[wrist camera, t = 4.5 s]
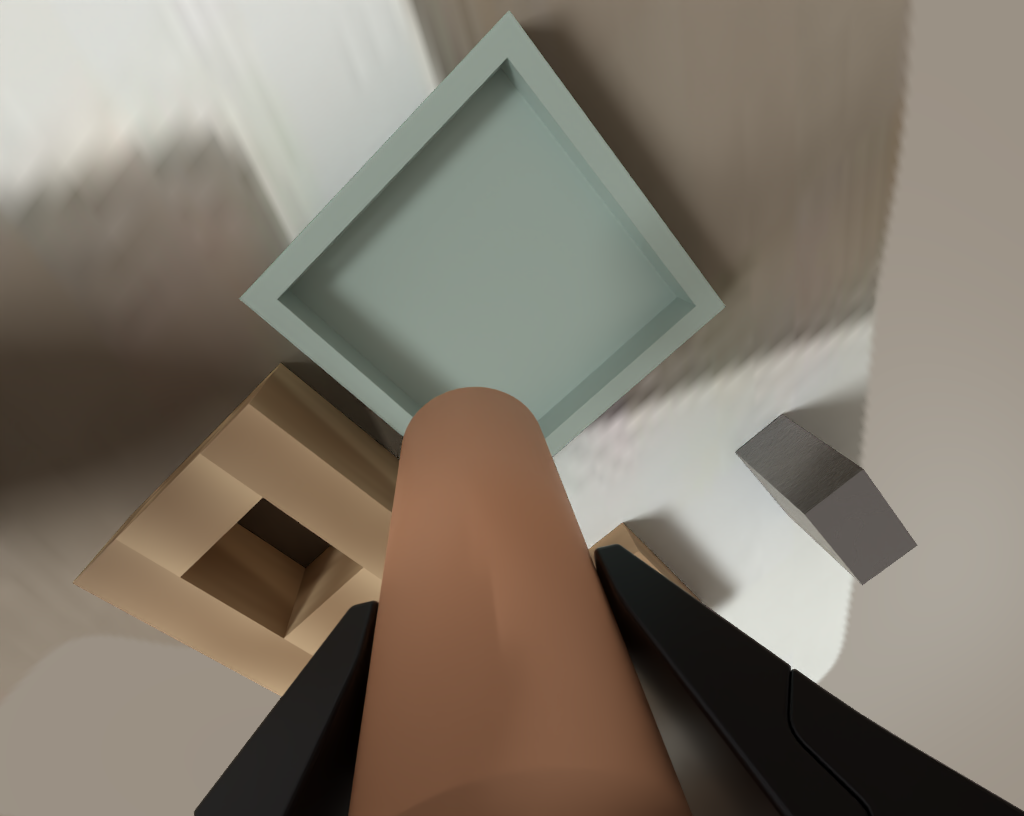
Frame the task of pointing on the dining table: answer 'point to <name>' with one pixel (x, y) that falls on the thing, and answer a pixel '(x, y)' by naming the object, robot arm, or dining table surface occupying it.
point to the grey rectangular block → (827, 498)
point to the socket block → (242, 555)
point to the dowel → (498, 640)
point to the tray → (489, 257)
